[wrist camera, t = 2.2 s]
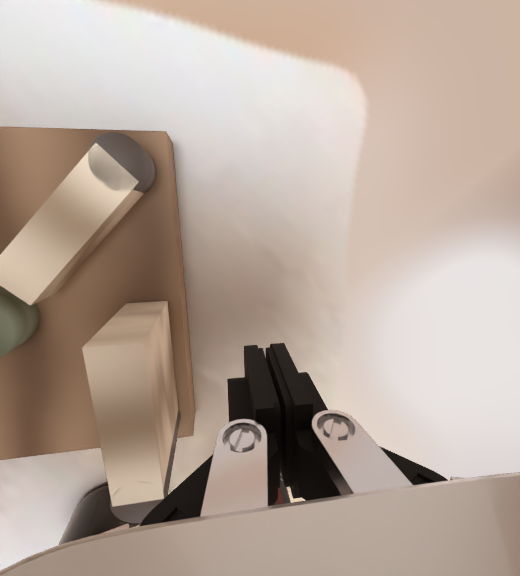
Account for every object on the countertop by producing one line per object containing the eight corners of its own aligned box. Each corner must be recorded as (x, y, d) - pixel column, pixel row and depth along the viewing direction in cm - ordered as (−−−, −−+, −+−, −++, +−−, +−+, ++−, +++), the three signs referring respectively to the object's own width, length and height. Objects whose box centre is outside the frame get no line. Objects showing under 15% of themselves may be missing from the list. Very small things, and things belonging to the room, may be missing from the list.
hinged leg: (181, 431, 20) (168, 518, 14) (143, 435, 20) (114, 527, 14) (168, 300, 17) (146, 342, 12) (124, 303, 17) (79, 347, 11)
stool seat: (-93, 445, 20) (-188, 516, 15) (-219, 133, 15) (-421, 95, 10) (195, 412, 23) (190, 463, 18) (172, 142, 18) (157, 116, 13)
